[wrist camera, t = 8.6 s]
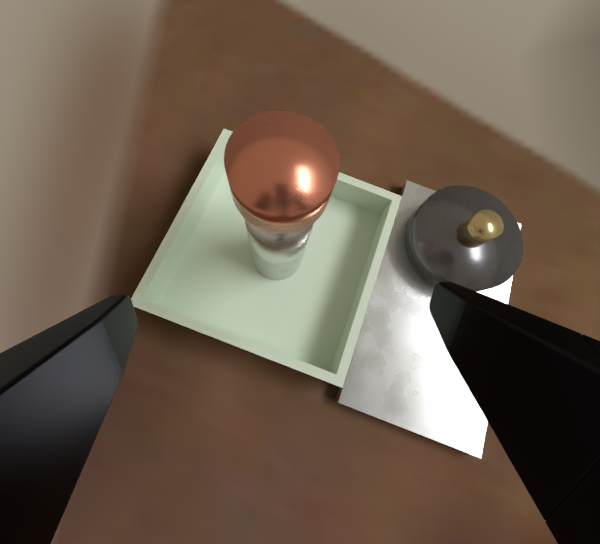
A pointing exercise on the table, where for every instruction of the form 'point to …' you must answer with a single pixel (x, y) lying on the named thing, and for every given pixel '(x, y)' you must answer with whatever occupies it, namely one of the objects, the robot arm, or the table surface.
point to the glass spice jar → (280, 185)
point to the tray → (265, 292)
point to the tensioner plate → (416, 314)
